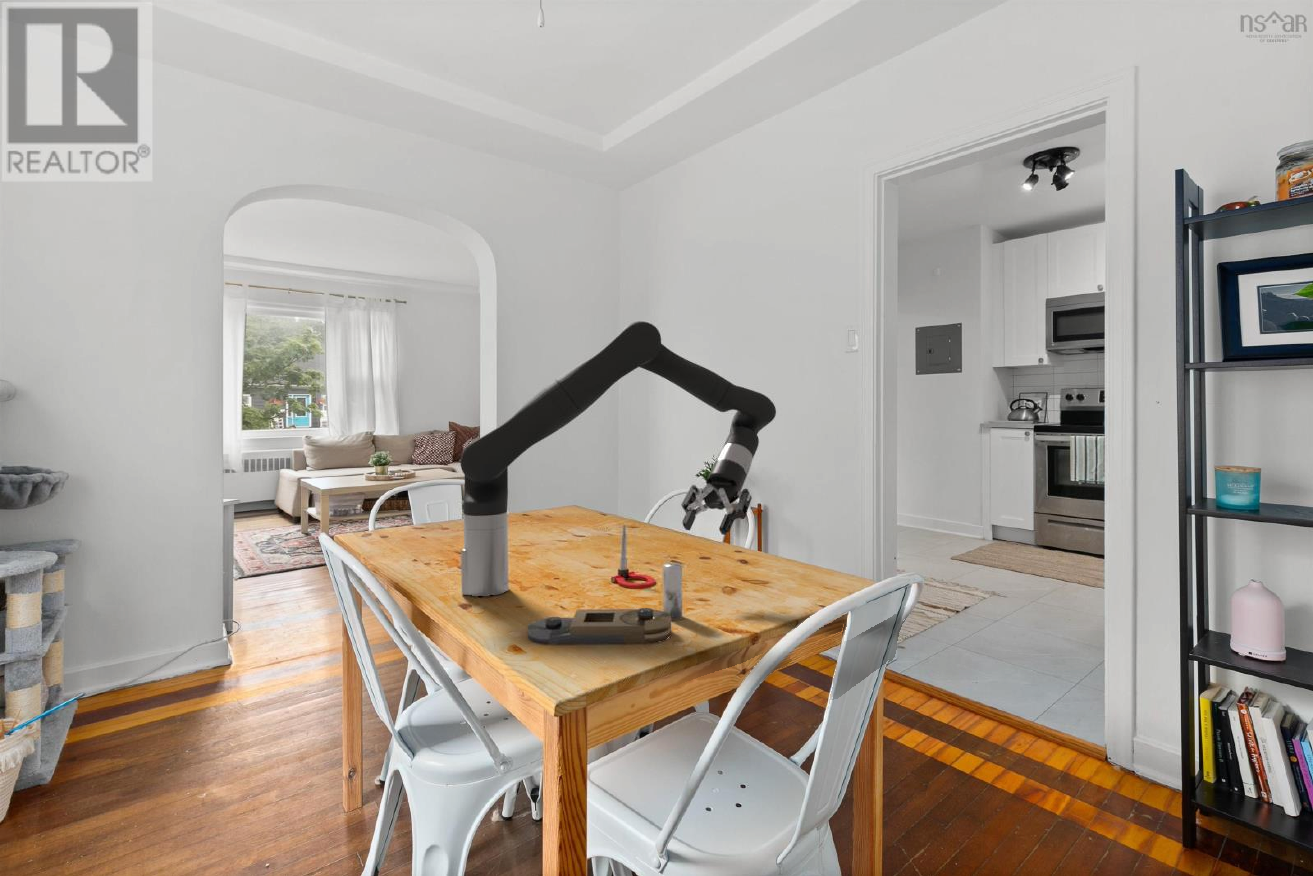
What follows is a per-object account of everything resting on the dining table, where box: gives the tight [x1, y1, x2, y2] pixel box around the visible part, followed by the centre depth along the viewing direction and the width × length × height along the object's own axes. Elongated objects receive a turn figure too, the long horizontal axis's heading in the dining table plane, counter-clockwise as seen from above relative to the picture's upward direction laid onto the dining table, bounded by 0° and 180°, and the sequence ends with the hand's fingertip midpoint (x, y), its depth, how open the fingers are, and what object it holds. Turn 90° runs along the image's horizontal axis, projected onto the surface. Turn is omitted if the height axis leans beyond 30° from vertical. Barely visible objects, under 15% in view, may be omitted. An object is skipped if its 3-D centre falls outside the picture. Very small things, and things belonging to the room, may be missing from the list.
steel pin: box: [662, 562, 683, 621], centre depth 118 cm, size 4×4×10 cm
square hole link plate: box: [526, 607, 672, 645], centre depth 109 cm, size 25×9×4 cm, turn 90°
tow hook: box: [610, 524, 656, 589], centre depth 142 cm, size 8×13×9 cm
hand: (703, 530), depth 127 cm, fingers open, 8 cm apart
